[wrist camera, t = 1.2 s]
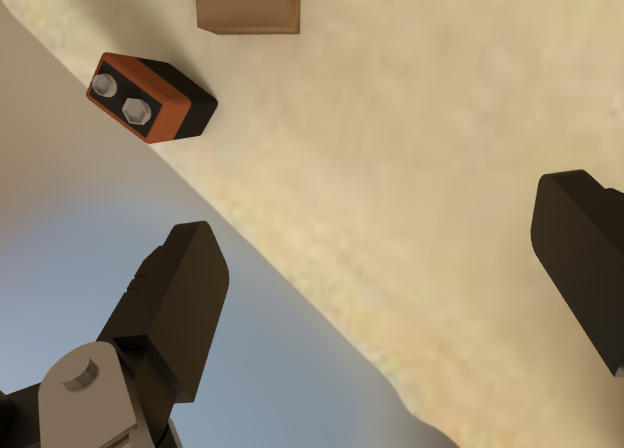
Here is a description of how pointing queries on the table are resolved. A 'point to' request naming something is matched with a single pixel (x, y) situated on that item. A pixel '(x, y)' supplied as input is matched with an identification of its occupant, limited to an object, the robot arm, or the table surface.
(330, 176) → the table surface
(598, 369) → the table surface
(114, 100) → the battery
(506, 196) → the table surface
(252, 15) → the base brick
